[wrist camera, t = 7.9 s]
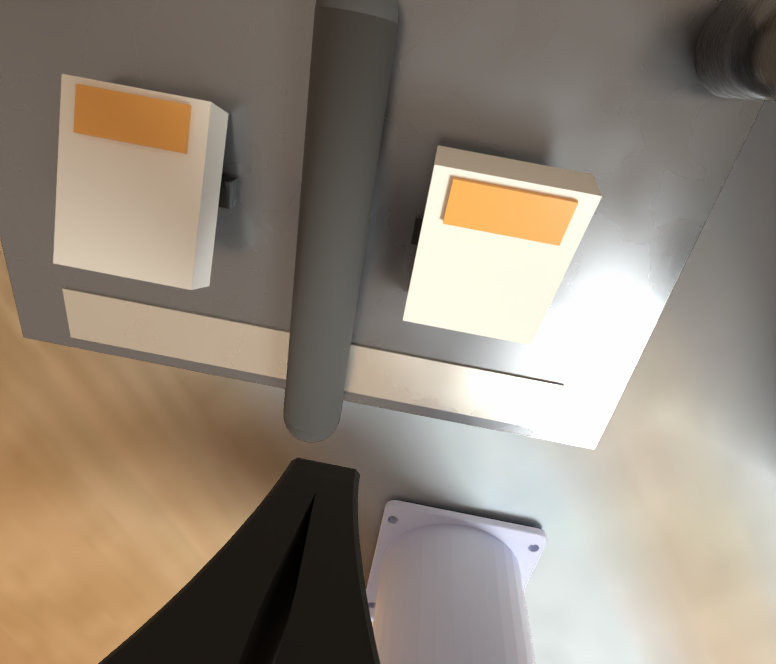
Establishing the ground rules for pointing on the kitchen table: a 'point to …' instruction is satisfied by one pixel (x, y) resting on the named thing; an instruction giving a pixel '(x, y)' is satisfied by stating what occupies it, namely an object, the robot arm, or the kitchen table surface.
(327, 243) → the dark grey rod
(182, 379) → the kitchen table surface
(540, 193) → the paddle
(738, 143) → the panel
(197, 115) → the paddle
